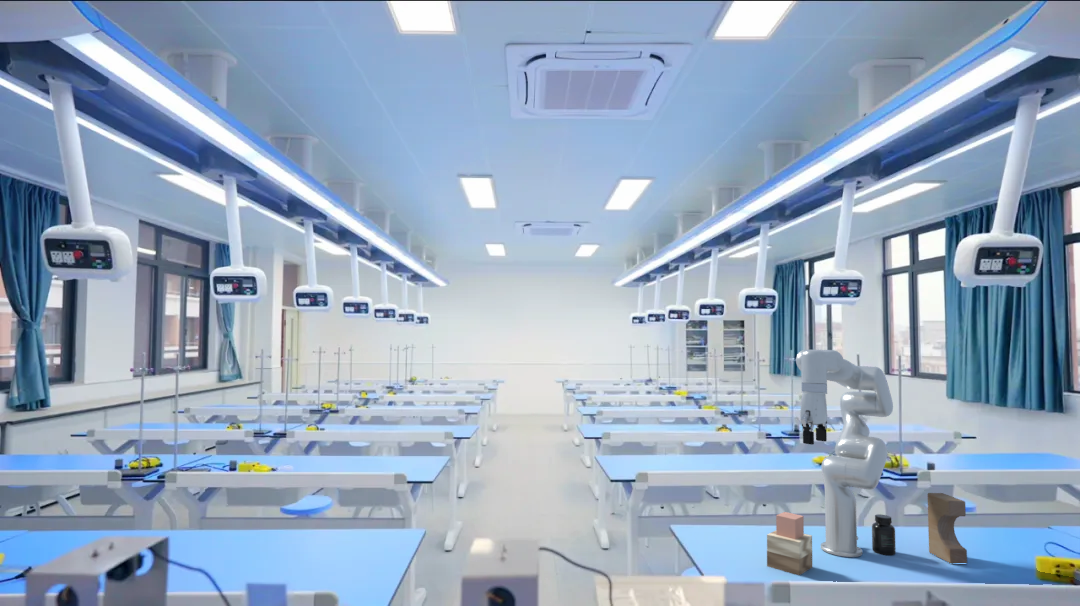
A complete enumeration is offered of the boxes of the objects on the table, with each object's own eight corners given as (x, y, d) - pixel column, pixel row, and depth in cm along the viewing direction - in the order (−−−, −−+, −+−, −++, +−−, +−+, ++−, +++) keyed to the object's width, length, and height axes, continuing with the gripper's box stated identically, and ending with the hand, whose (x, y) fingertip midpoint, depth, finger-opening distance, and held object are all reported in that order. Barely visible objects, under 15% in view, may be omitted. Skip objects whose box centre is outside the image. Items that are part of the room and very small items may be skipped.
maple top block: (780, 543, 194) (780, 528, 195) (812, 551, 187) (812, 535, 188) (767, 550, 187) (767, 534, 188) (799, 559, 180) (799, 542, 181)
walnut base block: (780, 559, 194) (780, 543, 194) (812, 568, 187) (812, 551, 187) (767, 567, 187) (766, 550, 187) (799, 576, 180) (799, 559, 180)
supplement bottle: (870, 547, 206) (870, 512, 207) (893, 550, 204) (892, 514, 205) (874, 554, 200) (873, 517, 201) (897, 557, 197) (896, 520, 198)
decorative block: (968, 565, 191) (966, 501, 193) (950, 564, 191) (948, 501, 193) (945, 552, 202) (943, 492, 204) (928, 552, 202) (926, 492, 204)
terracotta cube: (784, 530, 192) (784, 511, 192) (803, 535, 187) (803, 516, 188) (776, 534, 188) (776, 515, 188) (795, 539, 183) (795, 519, 184)
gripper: (813, 387, 201) (814, 438, 200) (790, 388, 189) (791, 443, 188) (836, 388, 196) (837, 441, 195) (814, 390, 184) (815, 446, 183)
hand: (815, 442), depth 191 cm, fingers open, 9 cm apart
